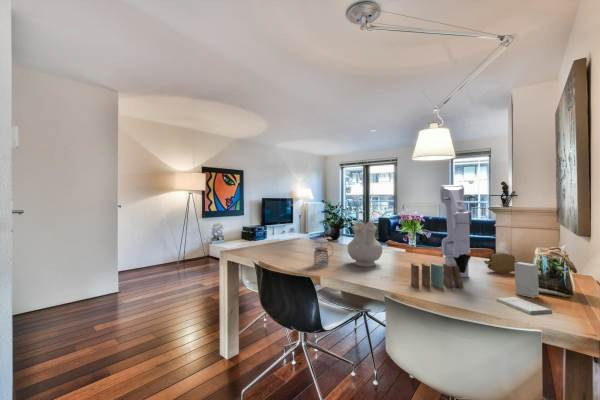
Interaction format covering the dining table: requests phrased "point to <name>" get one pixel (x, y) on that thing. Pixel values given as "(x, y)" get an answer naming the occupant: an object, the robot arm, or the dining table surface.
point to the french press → (320, 251)
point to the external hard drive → (524, 305)
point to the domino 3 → (437, 275)
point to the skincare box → (526, 279)
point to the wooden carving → (501, 263)
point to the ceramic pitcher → (364, 244)
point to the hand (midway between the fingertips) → (461, 272)
